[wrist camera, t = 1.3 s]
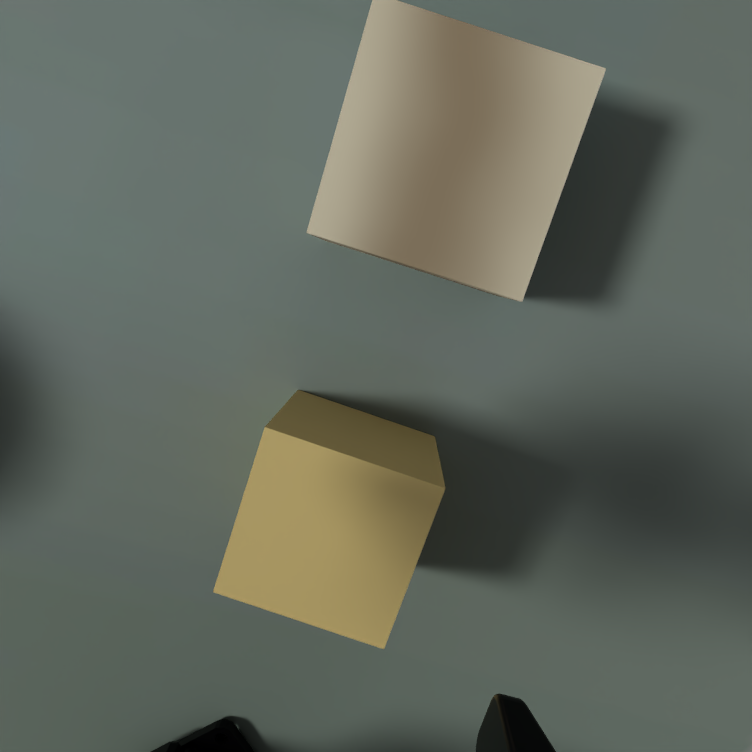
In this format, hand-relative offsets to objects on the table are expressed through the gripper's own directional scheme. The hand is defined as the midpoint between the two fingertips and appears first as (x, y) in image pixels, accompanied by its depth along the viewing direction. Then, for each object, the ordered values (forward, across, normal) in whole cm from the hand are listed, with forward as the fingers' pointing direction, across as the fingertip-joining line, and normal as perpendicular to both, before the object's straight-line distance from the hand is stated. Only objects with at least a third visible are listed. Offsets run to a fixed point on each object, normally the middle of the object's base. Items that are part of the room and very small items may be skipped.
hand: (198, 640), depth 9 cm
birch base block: (+13, -2, -7) cm, 15 cm away
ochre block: (+11, -1, +3) cm, 12 cm away
